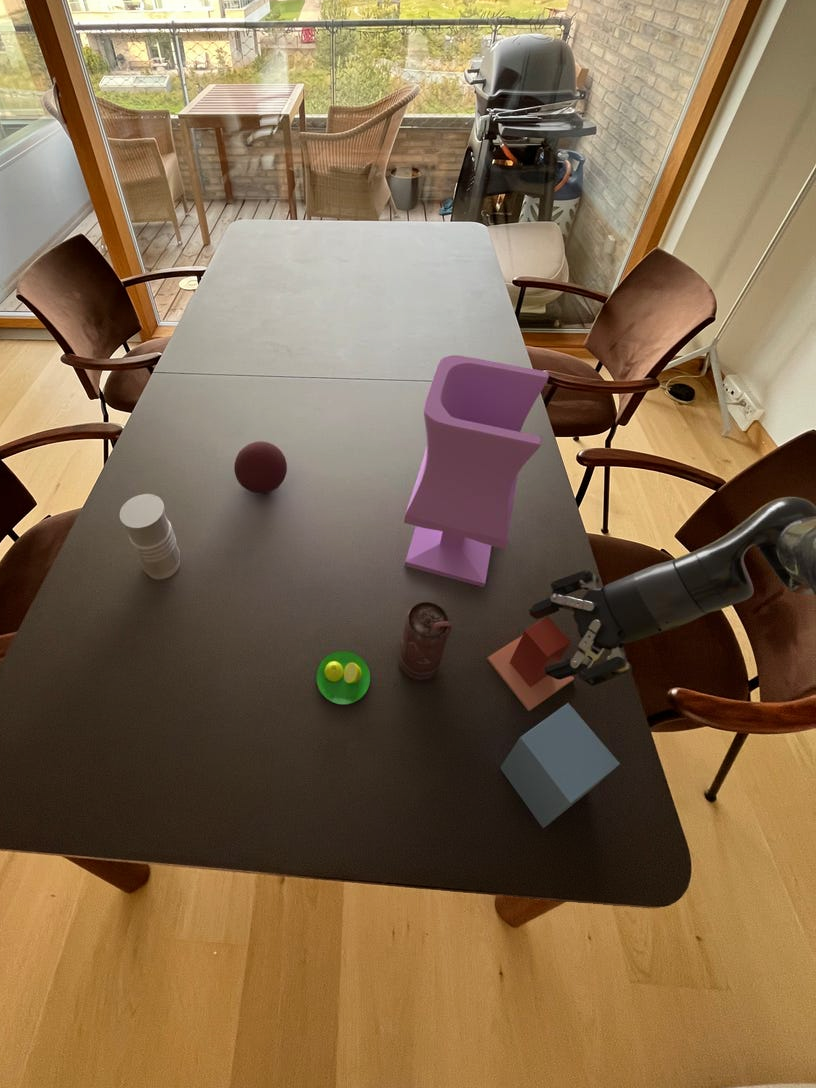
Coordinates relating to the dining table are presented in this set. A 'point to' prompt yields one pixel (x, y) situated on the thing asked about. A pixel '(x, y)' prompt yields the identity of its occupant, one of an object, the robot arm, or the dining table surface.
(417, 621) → the brown drink cup
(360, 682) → the green plate with lemons
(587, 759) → the blue stand
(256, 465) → the decorative ball
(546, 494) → the dining table surface
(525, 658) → the red post
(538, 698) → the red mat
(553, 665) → the robot arm
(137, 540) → the white ridged cylinder
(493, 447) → the vase
